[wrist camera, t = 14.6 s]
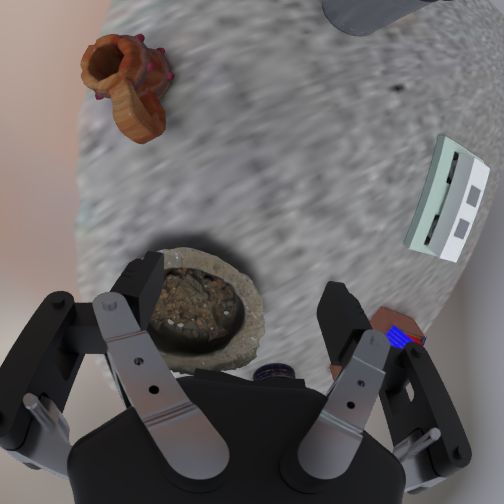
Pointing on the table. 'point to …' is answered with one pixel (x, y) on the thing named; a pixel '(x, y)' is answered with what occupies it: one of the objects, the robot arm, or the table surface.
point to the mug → (129, 83)
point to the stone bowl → (205, 314)
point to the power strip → (458, 207)
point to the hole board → (433, 193)
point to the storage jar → (274, 372)
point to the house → (392, 330)
